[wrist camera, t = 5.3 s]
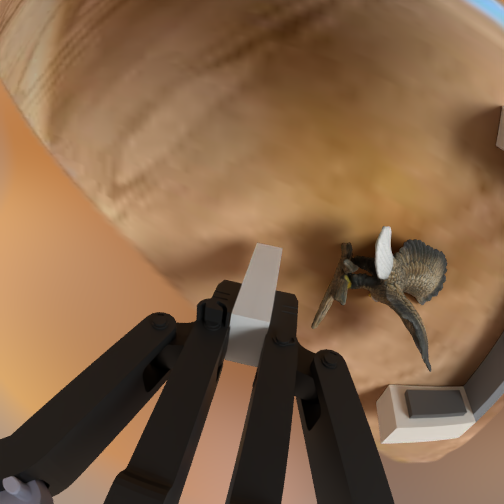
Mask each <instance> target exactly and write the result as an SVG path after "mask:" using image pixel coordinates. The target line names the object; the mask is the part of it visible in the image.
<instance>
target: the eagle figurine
mask: <svg viewBox="0 0 504 504" xmlns="http://www.w3.org/2000/svg"><path fill="white" fill-rule="evenodd" d="M352 250H353V249H352V245H351V243H350V242H348V243H347V244H345V243H343V244H342V245H341V251H342V256H341V259H340V262H339V264H338V267H337V269H336V272H335V275H334V278H333V280H332V282H331V284H330V286H329V287H328V290H327V292H326V294H325V296H324V298H323V300H322V302H321V305H320V307H319V309H318V311H317V313H316V315H315V318H314V321H313V323H312V326H311V327H312V328H313V329H314V328H316V327H317V326H318V325H319V323H320V322H321V321H322V320H323V318H324V317H325V315H326V313H327V311H328V310H329V308H330V307H331V305H332V302H333V300H336V301H339V302H340V303H341V305H345V303H346V298H347V289H349V288H351V289H358V288H364V289H367V290H369V291H370V294H368V296H369V297H371V298H372V299H373V300H374V301H376V302H381V303H384V304H386V305H388V306H389V307H390V308H392V309H393V310H394V311H395V312H396V313H397V314H398V315H399V317H400V318H401V319H402V321H403V323H404V325H405V327H406V328H407V329H408V331H409V332H410V334H411V335H412V337H413V340H414V342H415V344H416V346H417V348H418V349H419V351H420V353H421V355H422V359H423V361H424V363H425V364H426V366H427V368H428V370H429V371H430V372H431V365H430V363H429V359H428V339H427V334H426V330H425V327H424V325H423V322H422V319H421V317H420V315H419V314H418V312H417V310H415V308H414V306H413V305H412V303H411V302H410V301H409V300H408V299H407V298H406V296H405V295H404V293H408V294H411V295H412V296H414V297H415V298H416V299H417V301H418V302H419V304H421V305H424V304H425V302H426V301H430V300H431V298H432V297H435V296H437V295H438V292H439V291H441V290H442V288H443V283H444V282H445V281H446V277H445V275H444V274H445V273H446V272H447V269H446V266H447V262H446V261H447V260H446V258H445V255H444V254H443V252H442V251H440V252H439V251H438V250H437V249H433V248H432V247H430V246H428V245H427V246H426V245H425V243H424V242H422V241H421V240H416V239H415V240H407V242H404V246H403V247H401V248H400V249H399V253H398V252H396V253H394V255H393V254H392V251H391V228H390V227H389V226H387V227H385V226H383V227H382V231H381V232H380V234H379V237H378V239H377V241H376V243H375V258H369V257H364V256H355V257H354V258H352V256H353V253H352ZM358 268H361V269H364V270H366V271H368V272H369V273H370V274H372V275H373V276H368V275H367V274H361V273H359V274H352V272H355V271H357V270H358ZM403 292H404V293H403Z"/></svg>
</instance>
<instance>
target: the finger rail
mask: <svg viewBox="0 0 504 504" xmlns="http://www.w3.org/2000/svg"><path fill="white" fill-rule="evenodd" d="M496 146H497V147H499V148H500V149H502V150H504V106H502V111H501V118H500V125H499V131H498V136H497V142H496ZM503 393H504V332H503V333H502V335H501V336H500V338H499V339H498V341H497V342H496V344H495V345H494V347H493V348H492V350H491V351H490V352H489V354H488V355H487V357H486V358H485V359H484V361H483V362H482V363H481V365H480V366H479V367H478V369H477V370H476V371H475V373H474V374H473V375H472V376H471V378H470V379H469V380H468V381H467V383H466V384H465V385H464V386H461V387H433V386H405V385H389V386H388V387H387V388H386V390H385V391H384V392H383V394H382V395H381V396H380V398H379V399H378V400H377V402H376V406H377V414H378V422H379V431H380V440H381V443H412V442H426V441H436V440H445V439H453V438H459V437H460V436H461V435H462V434H463V433H464V432H466V431H467V430H468V429H469V428H470V427H471V426H472V425H473V424H474V423H475V422H476V421H477V420H479V419H480V418H481V417H482V416H483V415H484V414H485V413H486V412H487V411H488V410H489V408H490V407H491V406H492V405H493V404H494V403H495V402H496V401H497V400H498V399H499V398H500V397H501V396H502V394H503Z"/></svg>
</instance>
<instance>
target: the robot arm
mask: <svg viewBox="0 0 504 504" xmlns="http://www.w3.org/2000/svg"><path fill="white" fill-rule="evenodd" d="M282 249H283V248H280V247H275V246H271V245H266V244H261V243H257V244H256V247H255V250H254V252H253V255H252V258H251V261H250V264H249V266H248V269H247V272H246V275H245V277H244V280H243V283H242V284H241V283H237V282H232V281H228V280H224V281H222V282H221V283H219V284H218V286H217V288H216V290H215V292H214V294H213V296H212V298H210V299H204V300H202V301H200V302H199V303H198V304H197V320H196V321H195V322H191V323H176V321H175V319H174V317H172V316H171V315H170V314H166V313H160V312H157V313H153V314H151V315H149V316H147V317H146V318H145V319H144V320H142V321H141V322H140V323H139V324H138V325H137V326H135V327H134V328H133V329H132V330H131V331H129V332H128V333H127V334H126V335H125V336H124V337H123V338H121V339H120V340H119V341H118V342H116V343H115V344H114V345H113V346H112V347H111V348H109V349H108V350H107V351H106V352H105V353H104V354H102V355H101V356H100V357H99V358H98V359H97V360H96V361H94V362H93V363H92V364H91V365H90V366H89V367H87V368H86V369H85V370H84V371H83V372H82V373H80V374H79V375H78V376H77V377H76V378H75V379H74V380H72V381H71V382H70V383H69V384H68V385H67V386H66V387H64V388H63V390H61V391H60V392H59V393H58V394H56V395H55V396H54V397H53V398H52V399H51V400H50V401H49V402H48V403H46V404H45V405H44V406H43V407H42V408H41V409H40V410H39V411H37V412H36V413H35V414H34V415H33V416H32V417H31V418H29V419H28V420H27V421H26V422H25V423H24V424H23V425H22V426H21V427H20V428H18V429H17V430H16V431H15V432H14V433H13V434H12V435H11V436H8V437H6V438H3V439H0V504H54V503H53V498H52V497H53V496H55V495H57V494H59V493H60V492H62V491H63V490H65V489H66V488H68V487H69V486H70V485H71V484H72V483H73V482H74V481H75V480H76V479H77V478H78V477H79V476H80V475H81V474H82V473H83V472H84V471H85V470H86V469H87V468H88V466H89V465H90V464H91V463H92V462H93V461H94V460H95V459H96V458H97V457H98V456H99V454H100V453H102V451H103V450H104V449H105V448H106V447H107V446H108V445H109V444H110V443H111V442H112V441H113V440H114V438H115V437H116V436H117V435H118V434H119V433H120V432H121V431H122V430H123V429H124V427H125V426H126V425H127V424H128V423H129V422H130V421H131V420H132V419H133V418H134V416H135V415H136V414H137V413H138V412H139V411H140V410H141V409H142V408H143V406H144V405H145V404H146V403H147V402H148V401H149V400H150V399H151V398H152V396H153V395H154V394H155V393H156V392H157V391H158V390H159V388H160V387H161V386H162V385H163V384H164V383H165V382H166V381H167V382H166V385H165V386H164V389H163V391H162V393H161V395H160V397H159V399H158V401H157V403H156V405H155V408H154V410H153V412H152V414H151V416H150V418H149V420H148V423H147V425H146V427H145V429H144V431H143V433H142V435H141V438H140V440H139V442H138V444H137V446H136V449H135V451H134V453H133V455H132V457H131V460H130V462H129V464H128V466H127V468H126V469H125V470H123V471H121V472H120V473H119V474H118V475H117V476H116V478H115V480H114V482H113V484H112V486H111V488H110V490H109V492H108V495H107V497H106V499H105V501H104V504H178V503H179V500H180V497H181V494H182V491H183V487H184V485H185V481H186V478H187V475H188V472H189V470H190V467H191V463H192V460H193V457H194V454H195V451H196V448H197V445H198V442H199V439H200V436H201V433H202V430H203V427H204V424H205V421H206V418H207V414H208V412H209V408H210V405H211V402H212V399H213V396H214V393H215V390H216V387H217V384H218V381H219V378H220V374H221V371H222V367H223V361H224V358H225V360H229V361H233V362H237V363H241V364H246V365H251V366H255V367H258V368H257V372H256V375H255V379H254V382H253V389H252V393H251V398H250V402H249V407H248V411H247V415H246V420H245V424H244V429H243V433H242V438H241V441H240V446H239V450H238V454H237V458H236V463H235V466H234V471H233V474H232V479H231V482H230V486H229V490H228V494H227V498H226V502H225V504H281V501H282V494H283V487H284V480H285V473H286V466H287V458H288V449H289V441H290V432H291V423H292V414H293V403H294V396H296V400H297V404H298V410H299V414H300V419H301V424H302V429H303V434H304V439H305V444H306V449H307V453H308V458H309V464H310V468H311V474H312V479H313V484H314V488H315V494H316V499H317V504H394V500H393V497H392V494H391V491H390V487H389V484H388V481H387V478H386V475H385V471H384V468H383V465H382V462H381V459H380V456H379V453H378V450H377V447H376V444H375V441H374V438H373V435H372V433H371V430H370V427H369V424H368V421H367V418H366V416H365V413H364V410H363V407H362V404H361V402H360V399H359V396H358V394H357V391H356V388H355V386H354V383H353V380H352V378H351V375H350V372H349V370H348V367H347V365H346V362H345V360H344V358H343V357H342V356H341V355H340V354H339V353H337V352H335V351H333V350H327V349H325V350H320V351H319V352H317V353H316V354H315V353H313V352H311V351H309V350H307V349H305V348H304V347H302V346H301V345H300V344H299V342H298V340H297V337H296V331H297V314H298V300H297V298H296V296H295V294H290V293H285V292H281V291H276V286H277V280H278V274H279V268H280V262H281V255H282Z"/></svg>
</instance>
